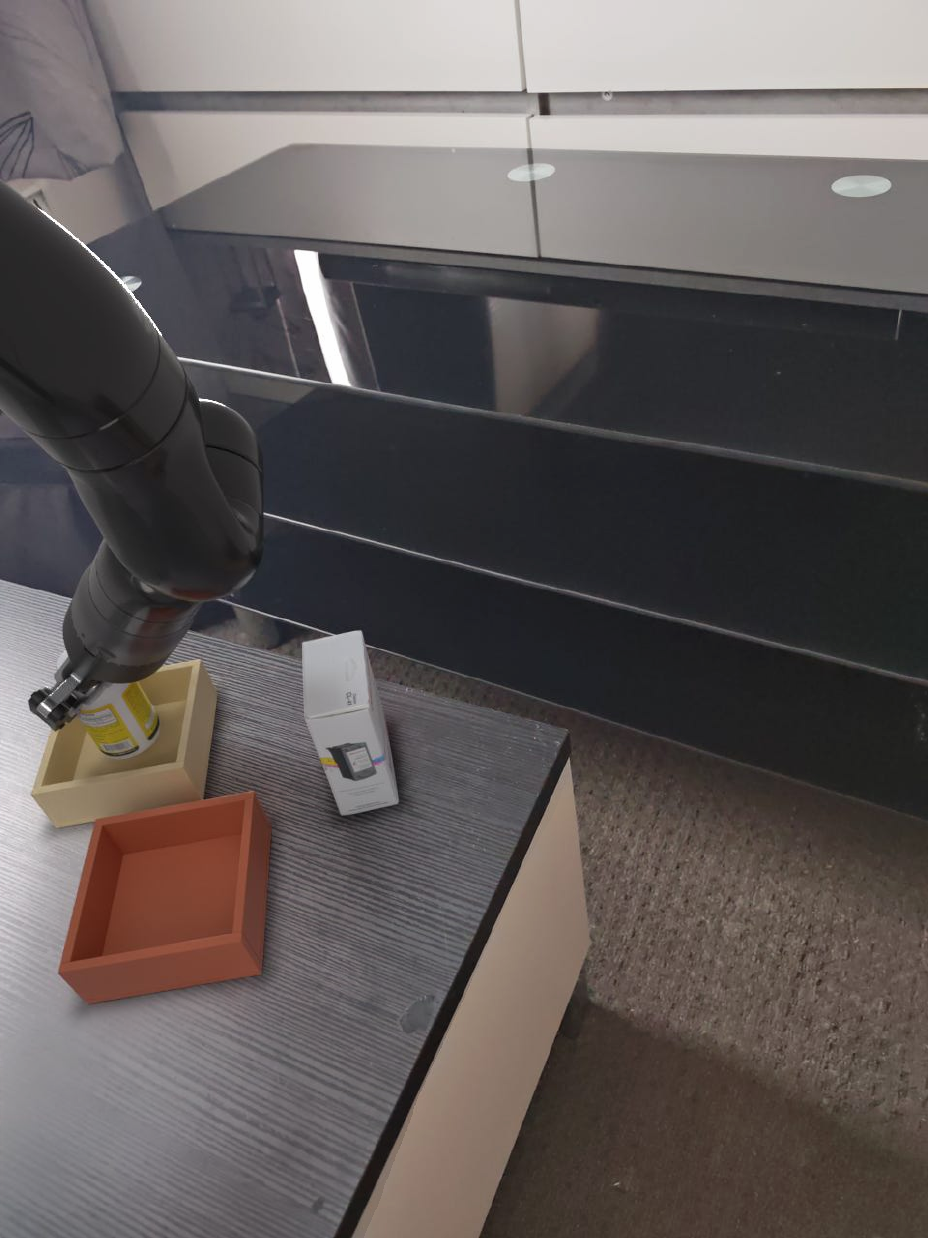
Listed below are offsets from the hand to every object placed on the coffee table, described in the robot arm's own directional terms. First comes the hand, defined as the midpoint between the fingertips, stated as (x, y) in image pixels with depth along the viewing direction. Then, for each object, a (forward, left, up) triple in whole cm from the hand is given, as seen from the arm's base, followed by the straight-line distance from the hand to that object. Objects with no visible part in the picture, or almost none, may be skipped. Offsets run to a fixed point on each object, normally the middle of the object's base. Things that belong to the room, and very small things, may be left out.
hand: (88, 686), depth 75 cm
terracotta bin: (-17, -7, -8) cm, 20 cm away
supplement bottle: (-1, -2, -6) cm, 6 cm away
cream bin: (-1, -1, -8) cm, 9 cm away
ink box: (-7, -21, -9) cm, 24 cm away
